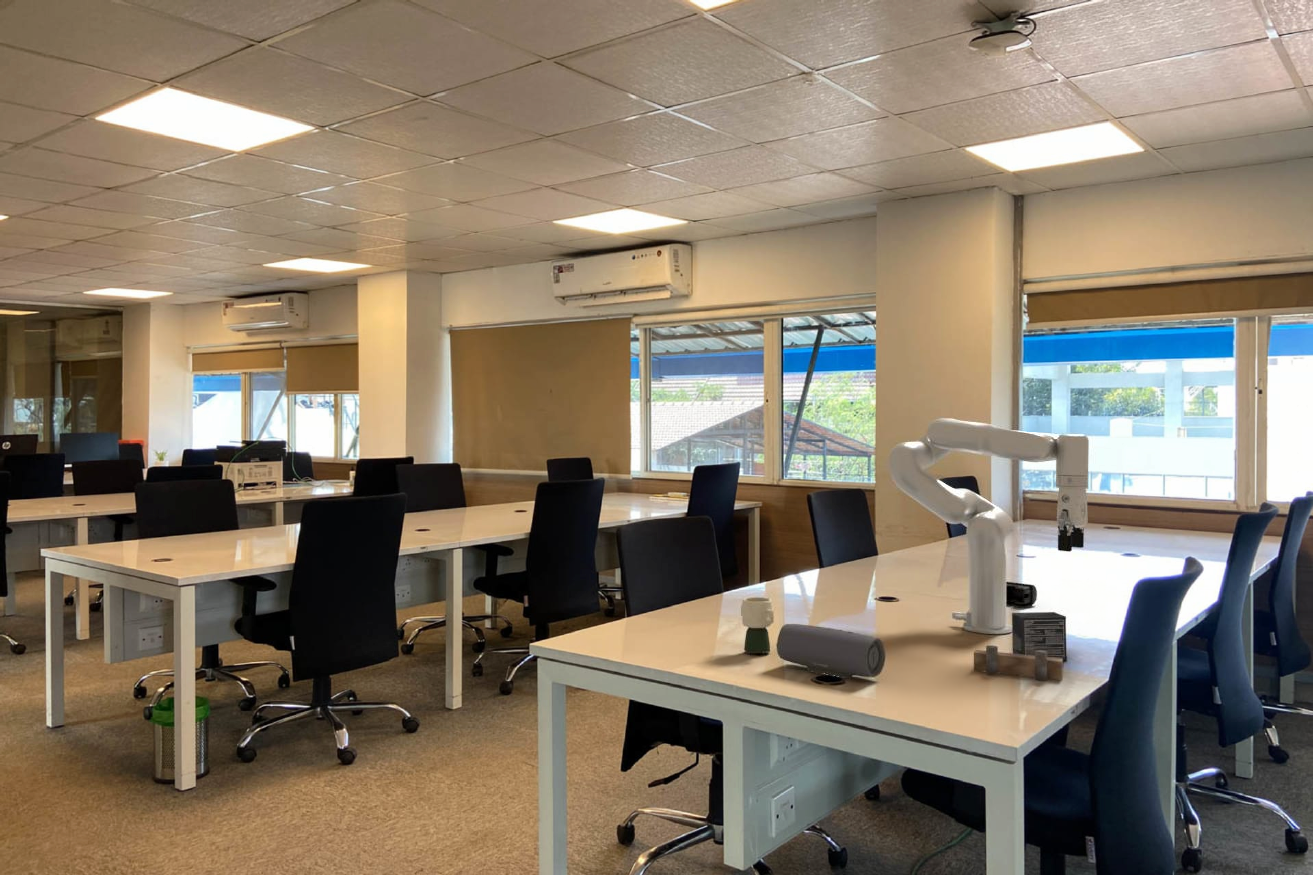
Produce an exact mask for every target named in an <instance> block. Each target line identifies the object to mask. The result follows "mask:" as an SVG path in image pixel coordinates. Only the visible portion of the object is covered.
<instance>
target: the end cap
mask: <svg viewBox="0 0 1313 875" xmlns="http://www.w3.org/2000/svg"><path fill="white" fill-rule="evenodd" d="M1037 597H1038V590H1037V588H1036V586H1035V585H1033V584H1028V583H1019V582H1012V581H1006V607H1011V606H1014V607H1013V608H1018V607H1019V608H1020V609H1028V608H1031V607H1032V606H1033V605H1034V604H1035V603H1036V601H1037Z"/></svg>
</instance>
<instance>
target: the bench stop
mask: <svg viewBox="0 0 1313 875" xmlns="http://www.w3.org/2000/svg"><path fill="white" fill-rule="evenodd" d="M998 649H999V647H998V646H997V645H986V646H985V650H980V649H975V650H974V651H973V671H975V672H982V671H985V672H986V673H987V674H986V673H985V672H984V673H985V674H986V675H988V674H989V676H998V675H999V674H1000V673H1004V674H1003V675H1009V674H1010V675H1012V676H1018V675H1022V676H1021V677H1027V676H1028V677H1029V678H1034V679H1035V680H1036V681H1040V682H1047V681H1048V680H1056V681H1063V678H1064V674H1063V673H1064V661H1063V659H1061V658H1052V657H1047V651H1042V650H1036V651H1035V656H1032V655H1022V654H1013V652H1011V653H1010V652H1002V651H1001V652H1000V651H999V650H998ZM1028 677H1027V678H1028Z"/></svg>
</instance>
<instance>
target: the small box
mask: <svg viewBox="0 0 1313 875" xmlns="http://www.w3.org/2000/svg"><path fill="white" fill-rule="evenodd" d="M1011 624H1012V625H1011V626H1012V632H1011V633H1012V637H1011V638H1012V641H1011V642H1012V654H1022V655H1032V656H1035V651H1036V650H1042V651H1047V657H1052V658H1061V659H1063V662H1066V661H1068V656H1067V627H1066V626H1067V616H1065V615H1063V614H1060V613H1057V612H1055V611H1043V612H1042V611H1041V612H1038V611H1037V612H1034V611H1033V612H1012V613H1011Z"/></svg>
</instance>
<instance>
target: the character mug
mask: <svg viewBox="0 0 1313 875" xmlns="http://www.w3.org/2000/svg"><path fill="white" fill-rule="evenodd" d="M740 612H741V613H740V615H741V617H742V625H743V626H744V627H747V629H746V632H745V639H744V647H743V649H744V652H745V653H750V654H760V655H763V654H762V653H770V652H771V643H770V642H771V641H770V635H769V630H768V629H767V628H768V627H770V626H771V625H772V624H774V621H775V620H774V619H775V614H774V613H775V612H774V610H773V601H772V598H769V597H763V596H760V597H759V596H749V597H743V598H742V602H741V605H740Z"/></svg>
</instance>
